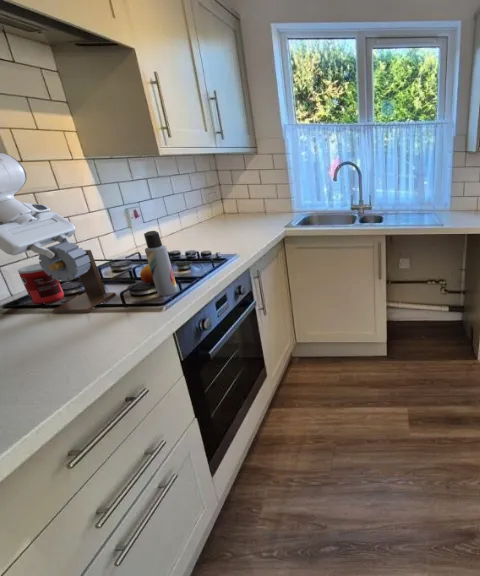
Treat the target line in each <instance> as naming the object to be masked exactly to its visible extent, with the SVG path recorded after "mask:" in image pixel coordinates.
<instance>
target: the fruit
mask: <svg viewBox="0 0 480 576" xmlns="http://www.w3.org/2000/svg"><path fill="white" fill-rule="evenodd" d="M139 277H140V279H141V281H142V282H144V283H145V284H147V283H150V284H153V285H155V283H154V280H153V276H152V273H151V270H150V266H149V263H148V264H147V265H145V266H144V267H142V269H141V270H140V273H139ZM150 284H149V285H150Z"/></svg>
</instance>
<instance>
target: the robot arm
mask: <svg viewBox="0 0 480 576" xmlns="http://www.w3.org/2000/svg"><path fill="white" fill-rule="evenodd" d="M26 181H27V172H26V169H25V167H24V166H23V165H22V164H21V162H20V161H19V160H17V159H16V158H15V157H13V156H12V155H10V154H7V153H5V152H0V250H1V252H4V253H5V254H7V255H11V256H18V255H21V254H23V253H27V252H29V251H31V252H33V253H35V254H38V255H39V254H42V255H45V256H47V257H48V258H50V259H51V258H54V257H56V255H57V252H56V251H54V250H53V249H50V250H49V249H46V248H47V247H44V246H47V245H50V244H53V243H56V242H58V243H62V242H69V243H71V240H70V239H69V238H71V237H72V236H73V235H74V234H75V232H76V227H75V225H74V224H73V223H72V222H70V221H69V220H68V219H66V218H65V217H63V215H60V214H58V213H56V212H55V211H51V208H50V206H48V205H47V204H43V203H31V202H30V203H29V202H21V201H20V200H18V199H17V198H16V197H15V195H16V194H17V193H19V192H20V190H21V189H22V188H23V187H24V186H25V184H26V183H27V182H26Z"/></svg>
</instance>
